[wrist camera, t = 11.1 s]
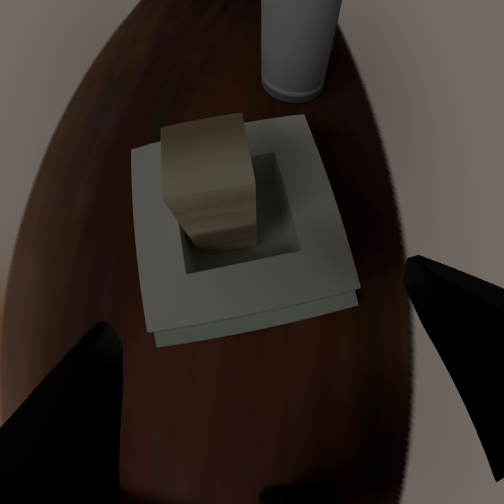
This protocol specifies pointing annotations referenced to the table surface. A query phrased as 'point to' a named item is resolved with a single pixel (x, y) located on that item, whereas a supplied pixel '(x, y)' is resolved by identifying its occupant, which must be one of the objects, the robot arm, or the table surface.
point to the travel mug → (297, 47)
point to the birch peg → (210, 182)
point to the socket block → (251, 259)
